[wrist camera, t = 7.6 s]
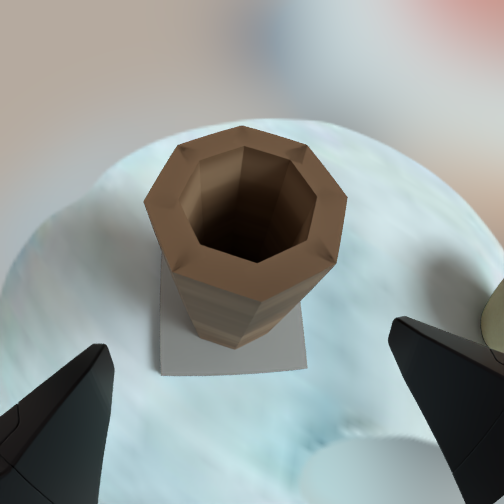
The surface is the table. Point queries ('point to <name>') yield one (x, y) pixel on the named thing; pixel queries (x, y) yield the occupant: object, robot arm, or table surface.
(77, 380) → the robot arm
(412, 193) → the table surface
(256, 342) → the post stand
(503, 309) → the flower pot
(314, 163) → the brown faceted vase
